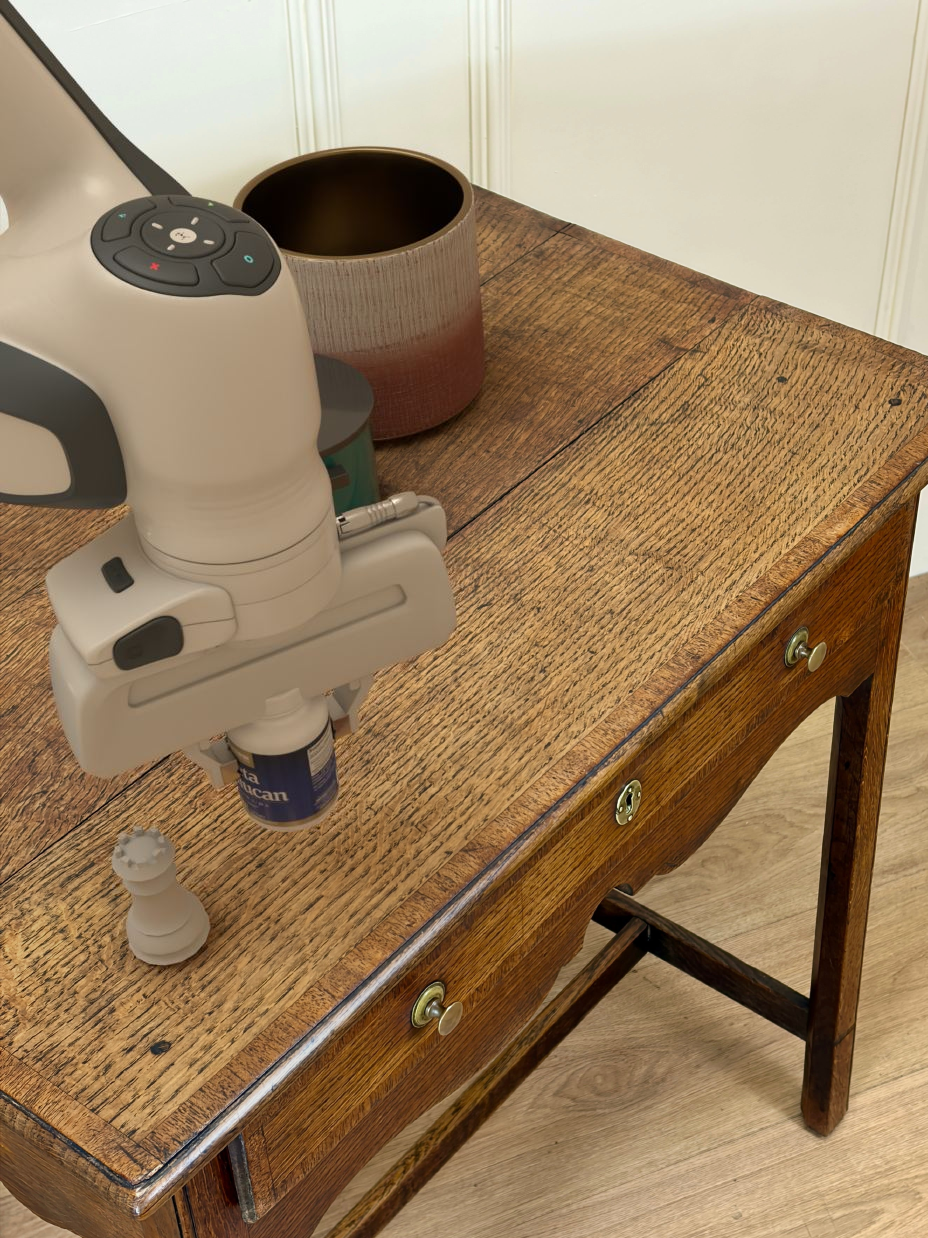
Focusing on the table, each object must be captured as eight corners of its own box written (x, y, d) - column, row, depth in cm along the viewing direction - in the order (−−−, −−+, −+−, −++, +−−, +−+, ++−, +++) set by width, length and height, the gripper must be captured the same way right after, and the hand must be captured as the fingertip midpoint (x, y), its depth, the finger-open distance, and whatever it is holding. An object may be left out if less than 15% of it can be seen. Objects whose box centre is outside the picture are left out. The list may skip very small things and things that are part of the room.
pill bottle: (224, 821, 80) (193, 694, 73) (268, 751, 83) (242, 624, 76) (315, 846, 79) (293, 720, 72) (356, 774, 82) (338, 647, 75)
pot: (256, 606, 100) (231, 493, 93) (177, 492, 109) (150, 380, 102) (424, 542, 104) (413, 428, 97) (335, 437, 113) (319, 326, 106)
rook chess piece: (134, 906, 83) (100, 813, 77) (215, 900, 83) (187, 807, 77) (125, 973, 80) (89, 882, 74) (208, 967, 80) (179, 875, 74)
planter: (320, 311, 126) (294, 130, 115) (517, 345, 121) (510, 160, 110) (223, 428, 114) (183, 240, 103) (436, 470, 110) (419, 278, 99)
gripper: (413, 447, 74) (429, 647, 84) (9, 586, 67) (78, 786, 77) (473, 515, 70) (482, 717, 80) (51, 670, 63) (119, 870, 73)
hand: (282, 752), depth 78 cm, fingers closed on pill bottle, 5 cm apart
